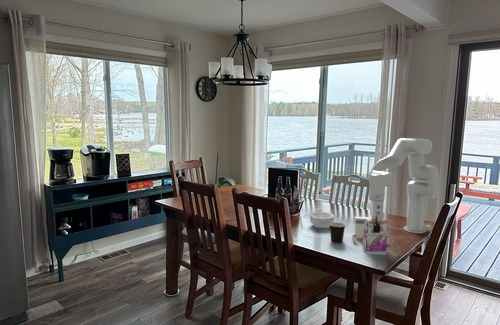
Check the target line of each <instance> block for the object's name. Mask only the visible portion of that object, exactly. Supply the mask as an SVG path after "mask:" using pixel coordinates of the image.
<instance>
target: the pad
mask: <svg viewBox="0 0 500 325" xmlns="http://www.w3.org/2000/svg"><path fill="white" fill-rule="evenodd" d="M363 250H364V252H365V254H366V255H381V256H387V252H386V251H365V249H364V248H363Z"/></svg>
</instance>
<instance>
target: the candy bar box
mask: <svg viewBox="0 0 500 325" xmlns="http://www.w3.org/2000/svg"><path fill="white" fill-rule="evenodd" d="M388 226H389V221H388V220H387V219H385V218H383V220H381V219H380V233H374V232H373V229H374V219H364V235H363V238H362V241H363V242H362V249H363V250H364V249H365V250H364V252H365V251H385V252H386V251H387V245H388V244H387V236H388V229H389V228H388Z"/></svg>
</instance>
